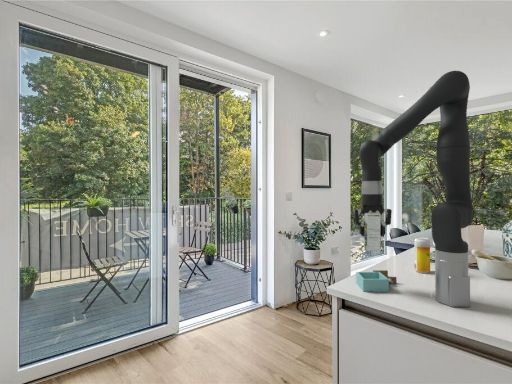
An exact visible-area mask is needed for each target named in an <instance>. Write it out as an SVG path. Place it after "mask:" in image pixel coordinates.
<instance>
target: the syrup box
mask: <svg viewBox="0 0 512 384" xmlns="http://www.w3.org/2000/svg"><path fill="white" fill-rule="evenodd" d="M380 226H381V224H380V213H365V222H364V236H363V239H364V241H363V242H364V245H363V246H364V251H366V252H368V251H369V252H381V236H380Z"/></svg>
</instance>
